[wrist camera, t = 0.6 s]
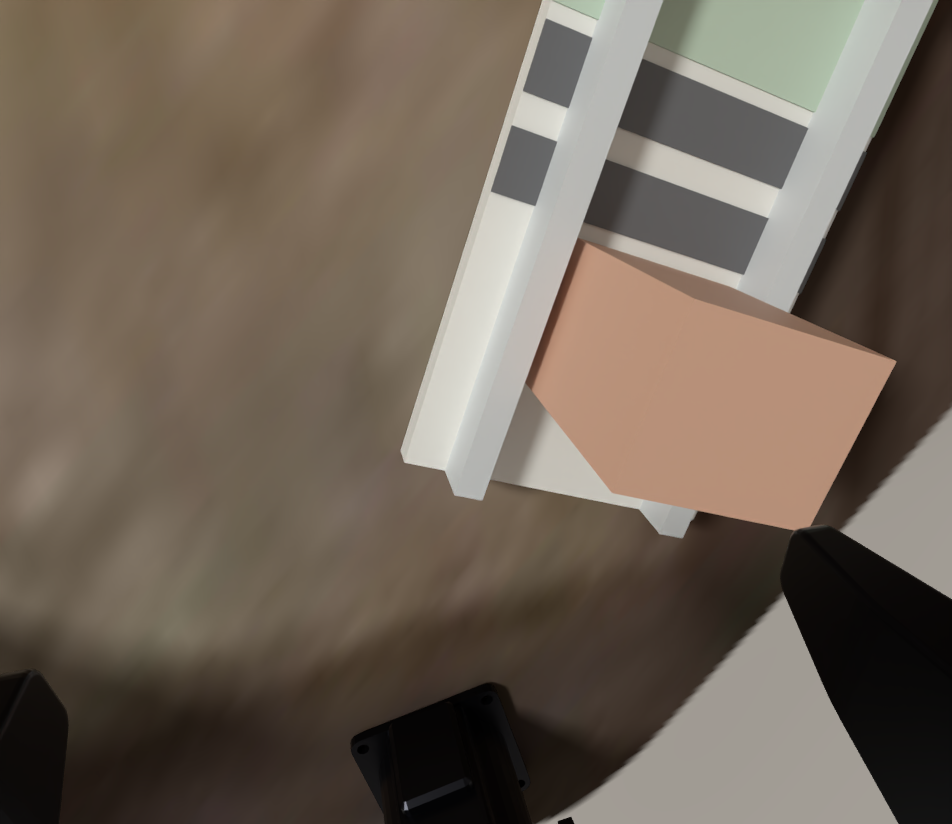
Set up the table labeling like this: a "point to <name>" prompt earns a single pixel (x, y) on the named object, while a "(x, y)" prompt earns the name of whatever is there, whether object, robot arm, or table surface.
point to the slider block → (700, 389)
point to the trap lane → (649, 194)
